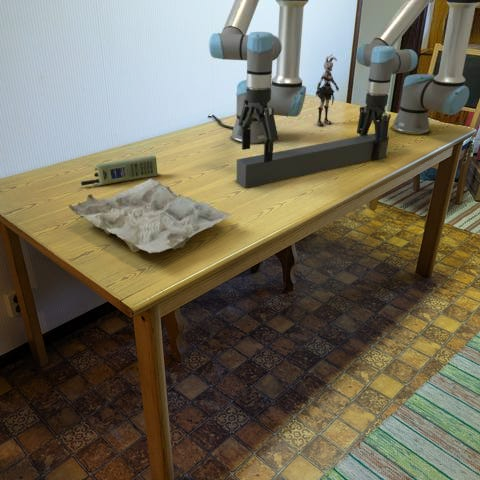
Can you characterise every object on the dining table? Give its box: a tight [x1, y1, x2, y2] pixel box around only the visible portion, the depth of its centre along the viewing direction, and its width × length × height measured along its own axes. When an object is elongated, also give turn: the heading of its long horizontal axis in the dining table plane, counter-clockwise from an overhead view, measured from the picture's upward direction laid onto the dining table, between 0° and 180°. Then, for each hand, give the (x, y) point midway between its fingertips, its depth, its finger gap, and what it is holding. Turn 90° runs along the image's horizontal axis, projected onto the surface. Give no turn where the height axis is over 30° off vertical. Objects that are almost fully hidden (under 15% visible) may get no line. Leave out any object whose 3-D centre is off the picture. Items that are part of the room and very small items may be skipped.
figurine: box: [315, 53, 340, 127], centre depth 218 cm, size 15×6×30 cm, turn 132°
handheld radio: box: [80, 155, 159, 187], centre depth 164 cm, size 7×3×25 cm
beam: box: [236, 133, 390, 188], centre depth 176 cm, size 61×6×8 cm, turn 119°
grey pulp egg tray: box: [68, 178, 232, 254], centre depth 138 cm, size 38×6×30 cm
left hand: (256, 155), depth 163 cm, fingers open, 13 cm apart
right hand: (368, 156), depth 188 cm, fingers closed on beam, 6 cm apart
